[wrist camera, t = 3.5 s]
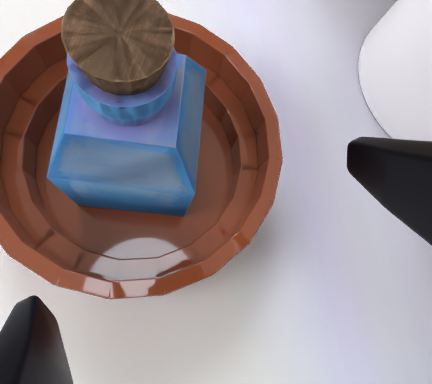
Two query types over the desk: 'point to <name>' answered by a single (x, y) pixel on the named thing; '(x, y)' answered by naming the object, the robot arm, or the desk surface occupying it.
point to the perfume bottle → (127, 110)
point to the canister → (400, 70)
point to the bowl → (129, 220)
